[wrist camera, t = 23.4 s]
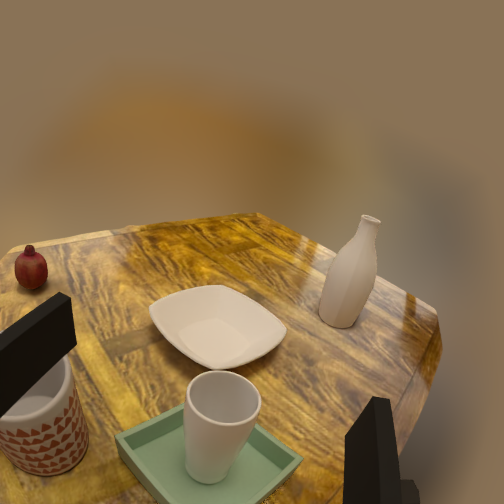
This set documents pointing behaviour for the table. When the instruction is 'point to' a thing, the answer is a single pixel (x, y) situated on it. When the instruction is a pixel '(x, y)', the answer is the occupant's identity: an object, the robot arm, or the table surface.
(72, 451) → the planter
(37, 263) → the fruit
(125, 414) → the table surface
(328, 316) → the bottle
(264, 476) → the bin
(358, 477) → the robot arm
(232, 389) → the white cup
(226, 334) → the bowl
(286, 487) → the table surface
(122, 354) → the table surface
